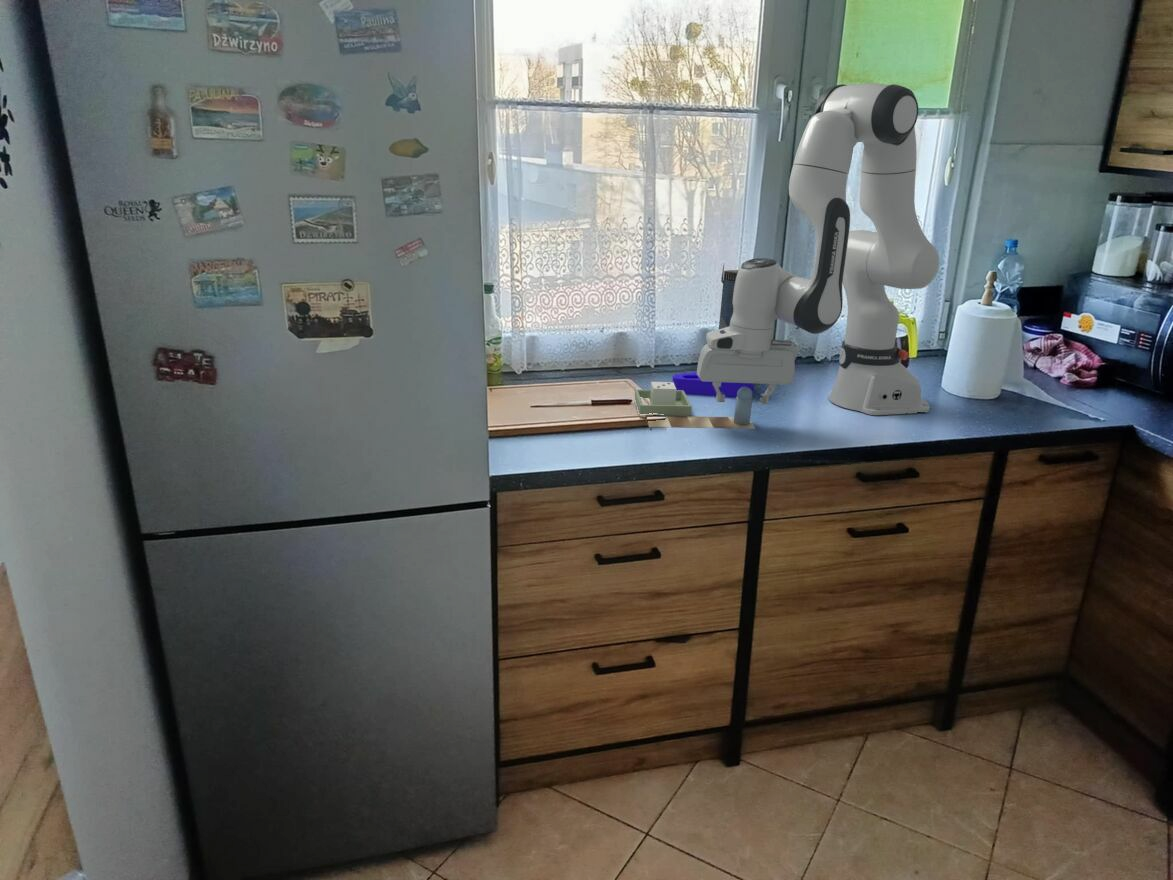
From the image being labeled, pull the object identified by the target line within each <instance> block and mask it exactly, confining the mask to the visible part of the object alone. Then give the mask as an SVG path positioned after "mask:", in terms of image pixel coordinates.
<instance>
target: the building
mask: <svg viewBox="0 0 1173 880" xmlns="http://www.w3.org/2000/svg"><path fill="white" fill-rule="evenodd" d="M722 266H723V267H722V274H721V280H720V281H721V283H722V291H721V292H722V294H721V302H720V311H719V312H720V313H719V323H718V329H722V328H726V327H729V326H730V320H731V318H732V315H733V293H734V286H735V281H736V277H737V273H738V270H739V269H729V270H724V269H725V264H723V265H722Z"/></svg>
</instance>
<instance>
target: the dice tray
mask: <svg viewBox="0 0 1173 880" xmlns="http://www.w3.org/2000/svg"><path fill="white" fill-rule="evenodd" d="M650 393H651V389H634V397H635V400H636V404H637V407H638V410H639V413H640V414H649V413H652V414H653V413H658V414H664V415H666V416H692V404H691V402H690V400H689V399H688V396H687V394H685V392H684V390H676V400H675V405H643V404H642V401H641V398H640V397H643V398H649V399H650Z"/></svg>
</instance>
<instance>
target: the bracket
mask: <svg viewBox="0 0 1173 880" xmlns="http://www.w3.org/2000/svg"><path fill="white" fill-rule="evenodd" d="M671 382H674V385H675V387H676V390H684V392H685V394H686V395H693V396H694V395H696V396H704V397H705V396H707V397H716V394H717V392H716V390H715V388H714V386H713V384H712V383H713V382H706V381H701V380H700V378H699V377H698V375H697V371H695V372H689V373H688V372H687V373H677V374H673V375H672V381H671ZM754 384H755V383H732V382H721V387H718V388H719V390H720V392H724V394H725V398H735V399H736V397H737V392H738V390H739V389H740V388H742V387H748V388H750V389H751V391H752V397H753V394H754V387H755V385H754Z"/></svg>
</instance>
